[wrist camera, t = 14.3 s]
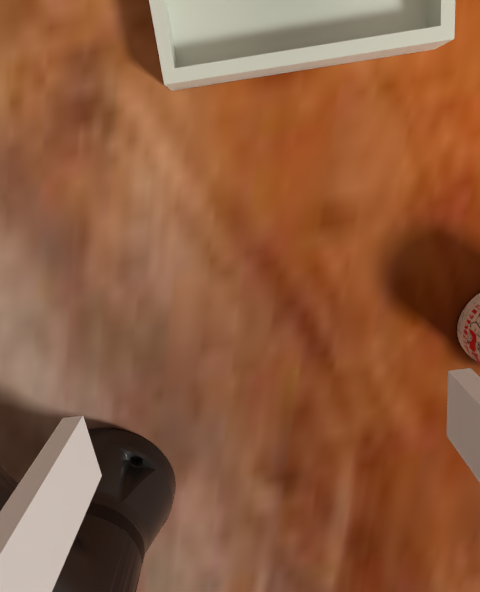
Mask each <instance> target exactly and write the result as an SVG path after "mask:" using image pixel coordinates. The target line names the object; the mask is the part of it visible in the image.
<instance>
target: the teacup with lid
mask: <svg viewBox="0 0 480 592" xmlns="http://www.w3.org/2000/svg"><path fill="white" fill-rule="evenodd" d="M457 335H458V339H459V342H460V345H461V346H462V348H463V349H464V351H465V352H466V353H467V354H468V355H469V356H470V357H471V358H472V359H474V360H475V361H476V362H477V363H478V364H479V365H480V293H479V294H477V295H476V296H475V297H474V298H473V299H472V300H470V301H469V303H468V304H467V305H466V306H465V308H464V309H463V311H462V313H461V315H460V318H459V321H458V326H457Z"/></svg>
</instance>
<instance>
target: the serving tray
mask: <svg viewBox="0 0 480 592" xmlns="http://www.w3.org/2000/svg"><path fill="white" fill-rule="evenodd" d="M149 3H150V9H151V14H152V20H153V25H154V31H155V37H156V42H157V48H158V53H159V59H160V64H161V70H162V75H163V81H164V85H165V86H166V87H168V88H169V89H170V90H171V91H173V90H179V89H186V88H192V87H198V86H205V85H211V84H218V83H224V82H230V81H237V80H243V79H249V78H256V77H262V76H268V75H275V74H281V73H288V72H294V71H300V70H307V69H313V68H319V67H326V66H332V65H339V64H345V63H351V62H358V61H364V60H370V59H377V58H383V57H389V56H396V55H402V54H409V53H415V52H421V51H428V50H434V49H436V48H438V47H440V46H442V45H444V44H446V43H447V42H449V41H451V40H453V39H454V29H455V0H149Z"/></svg>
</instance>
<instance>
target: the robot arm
mask: <svg viewBox="0 0 480 592" xmlns="http://www.w3.org/2000/svg"><path fill="white" fill-rule="evenodd" d="M447 437H448V439H449V440H450V441H451V443H452V444H453V446H454V447H455V448H456V450H457V451H458V453H459V454H460V455H461V457H462V458H463V460H464V461H465V462H466V464H467V465H468V467H469V468H470V469H471V471H472V472H473V474H474V475H475V476H476V478H477V479H478V481H479V482H480V377H479V376H478V375H477V374H476V373H475V372H474V371H473V370H472V369H471V368H468V369H460V370H452V371H448V401H447ZM175 487H176V483H175V476H174V472H173V469H172V467H171V465H170V463H169V461H168V460H167V458H166V457H165V456H164V454H163V453H162V452H161V451H160V450H159V449H158V448H157V447H155V446H154V445H153V444H152V443H150V442H149V441H147V440H145V439H144V438H142V437H140V436H138V435H135V434H133V433H130V432H126V431H122V430H117V429H107V428H100V429H91V430H87V426H86V423H85V420H84V417H83V416H75V417H67V418H62V420H61V421H60V423H59V424H58V426H57V427H56V429H55V430H54V432H53V433H52V435H51V436H50V438H49V439H48V441H47V442H46V444H45V445H44V447H43V448H42V450H41V451H40V453H39V454H38V456H37V457H36V459H35V460H34V462H33V463H32V465H31V466H30V468H29V469H28V471H27V472H26V474H25V475H24V477H23V478H22V480H21V481H20V483H17V482H16V481H15V480H14V479H13V478H12V477H11V476H10V475H9V474H8V473H7V472H6V471H4V470H3V469H2V468H1V467H0V592H136V590H137V585H138V581H139V576H140V572H141V567H142V563H143V559H144V555H145V553H146V551H147V550H148V548H149V547H150V545H151V544H152V542H153V541H154V539H155V537H156V536H157V534H158V532H159V531H160V529H161V527H162V526H163V525H164V523H165V522H166V520H167V518H168V516H169V514H170V511H171V508H172V504H173V499H174V494H175Z"/></svg>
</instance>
